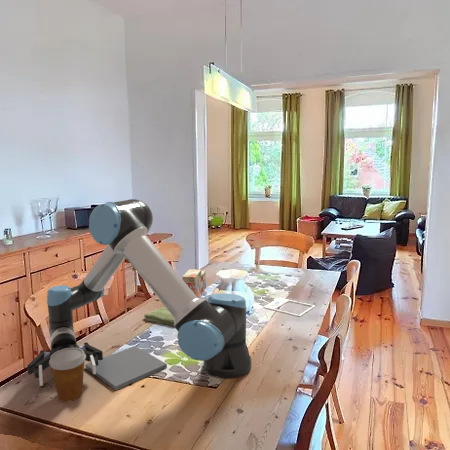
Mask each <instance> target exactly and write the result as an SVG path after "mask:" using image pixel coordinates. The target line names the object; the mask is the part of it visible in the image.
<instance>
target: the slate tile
mask: <svg viewBox="0 0 450 450" xmlns="http://www.w3.org/2000/svg"><path fill="white" fill-rule="evenodd" d="M167 366H168V365H167V363H166V362H164V361H163V360H161V359H159V358H157V357H156V356H154V355H151V354H150V353H149V352H147V351H145V350H144V349H142V348H140V347H138V346H136V345H134V346H131V347H129V348H125V349H123V350H120V351H117V352H115V353H112V354H109V355H107V356H103V360H98V366H96V374H94V376H96V377H97V378H98V379H100V380H101V381H103V382H104V383H105V384H106V383H107V384H106V385H108V387H110V388H111V389H113V390H115V391H118V390H120V389H123V388H124V387H126V386H128V385H131V384H133V383H135V382H137V381H139V380H142V379H144V378H146V377H149V376H151V375H153V374H155V372H156V373H158V372H159V371H162V370H164V368H165V369H167V368H168V367H167ZM166 367H167V368H166ZM85 369H86V370H88V371H89V372H91V373H92V374H93V371H92V367H91V363H90V362H89V363H86V364H85ZM157 371H158V372H157ZM152 373H153V374H152ZM150 374H151V375H150ZM148 375H149V376H148Z"/></svg>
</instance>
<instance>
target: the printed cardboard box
mask: <svg viewBox="0 0 450 450" xmlns="http://www.w3.org/2000/svg"><path fill="white" fill-rule="evenodd" d="M181 278H182V279H183V281H184V282H185V283H186V284H187V285H188V287H189V288H190V289H191V290H192V292H193V293H194V294H195V295H196V296H197V298H201V296H202V294H203V292H204V291H205V290H206V288H207V277H206V270H202V269H193V268H192V269H190V268H189V269H188V270H187V271H186V272H185V273H184V274H183V275H182V277H181ZM201 293H202V294H201ZM200 295H201V296H200Z"/></svg>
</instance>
